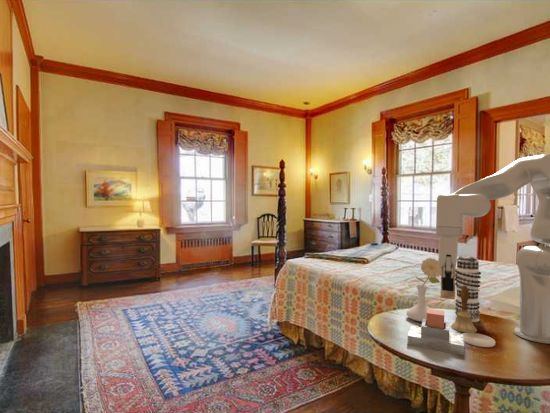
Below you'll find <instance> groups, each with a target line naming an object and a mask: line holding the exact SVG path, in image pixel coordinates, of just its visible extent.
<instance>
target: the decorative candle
mask: <svg viewBox="0 0 550 413" xmlns="http://www.w3.org/2000/svg"><path fill="white" fill-rule="evenodd" d="M479 264H480V261H479V260H478V258H476V257H475V256H471V255H459V257H457V262H456V272H455V290H456V294H455V302H456V303H455V306H456V307H455V308H454V309H455V312H454V313H455V316H454V317H455V318H457V313H459V312H461V311H462V300H461V290H462V288H463V286H467V289H468V292H469V298H468V301H467V313H468V314H470V315H471V320H472V323H477V322H480V313H481V312H480V310H479V309H480V308H481V307H480V297H479V292H480V289H479V288H481V285H480V283H481V281H480V280H479V279H481V278H482V276H480V275H482V272H480V268H479V266H480V265H479Z"/></svg>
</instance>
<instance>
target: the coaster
mask: <svg viewBox="0 0 550 413" xmlns="http://www.w3.org/2000/svg"><path fill="white" fill-rule="evenodd" d="M461 334H463V340H464V343H466V344H469V345H471V346H475V347H480V348H493V347H495V346H496V340H495V339H494V338H492V337H490V336H488V335H487V334H486V335H485V334H482V333H477V332H475V333H466V332H462V333H461Z"/></svg>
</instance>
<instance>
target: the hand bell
mask: <svg viewBox="0 0 550 413" xmlns="http://www.w3.org/2000/svg"><path fill="white" fill-rule="evenodd" d="M468 298H469V292H468V289H467V286H463V288H462V290H461V300H462V311H461V312H459V313H457V318H456V317H455V318H456V319H455V321H454V322H453V323H452V324H451V325H450V327H451V328H452V329H454V330H455V331H458V332H462V333H477V331H478V329H477V328H476V327H475V326H474V323H473V322H472V320H471V315H470V314H468V313H467V301H468Z"/></svg>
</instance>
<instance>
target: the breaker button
mask: <svg viewBox="0 0 550 413" xmlns="http://www.w3.org/2000/svg"><path fill="white" fill-rule="evenodd" d="M444 322H445V310H439V309H432V308H430V309H428V310H427V326H430V327H436V328H442V329H444Z"/></svg>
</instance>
